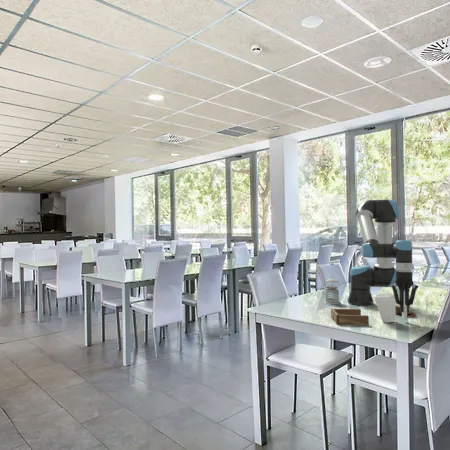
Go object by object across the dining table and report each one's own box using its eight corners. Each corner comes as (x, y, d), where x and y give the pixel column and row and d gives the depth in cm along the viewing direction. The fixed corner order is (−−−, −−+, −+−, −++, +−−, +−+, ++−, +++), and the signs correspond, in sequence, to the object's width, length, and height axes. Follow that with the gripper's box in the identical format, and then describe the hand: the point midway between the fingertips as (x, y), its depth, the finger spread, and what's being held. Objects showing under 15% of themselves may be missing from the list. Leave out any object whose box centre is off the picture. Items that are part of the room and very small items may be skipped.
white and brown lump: (395, 309, 221) (407, 297, 217) (409, 323, 216) (422, 311, 211) (386, 311, 213) (399, 299, 208) (400, 327, 207) (414, 314, 203)
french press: (341, 304, 241) (340, 263, 241) (321, 303, 243) (321, 263, 244) (339, 301, 251) (339, 262, 251) (321, 300, 253) (320, 262, 253)
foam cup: (393, 316, 200) (388, 291, 200) (402, 320, 191) (397, 294, 191) (375, 320, 200) (371, 295, 200) (383, 324, 190) (378, 298, 191)
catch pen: (331, 317, 206) (331, 308, 206) (360, 317, 204) (360, 309, 204) (336, 324, 190) (336, 315, 190) (368, 325, 188) (368, 315, 188)
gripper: (393, 271, 192) (393, 320, 191) (420, 271, 190) (421, 320, 190) (388, 270, 199) (388, 316, 199) (414, 270, 198) (415, 317, 198)
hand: (404, 318), depth 194 cm, fingers closed
